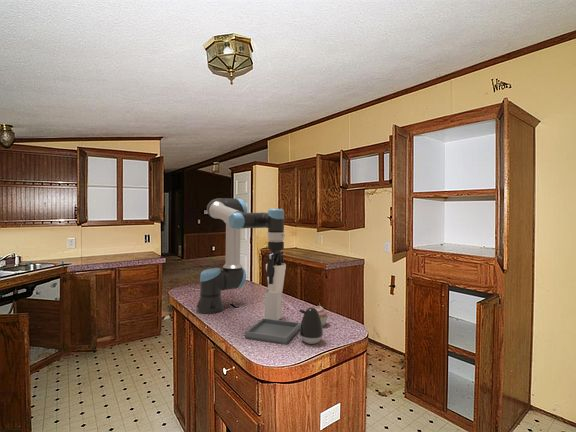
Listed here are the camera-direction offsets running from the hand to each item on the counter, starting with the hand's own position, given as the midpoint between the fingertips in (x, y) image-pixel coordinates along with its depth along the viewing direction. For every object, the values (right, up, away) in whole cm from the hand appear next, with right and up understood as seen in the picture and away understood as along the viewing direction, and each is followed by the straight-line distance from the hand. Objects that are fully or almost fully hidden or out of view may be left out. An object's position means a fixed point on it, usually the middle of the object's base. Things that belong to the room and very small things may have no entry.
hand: (275, 288), depth 156 cm
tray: (-1, -21, -1) cm, 21 cm away
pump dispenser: (+16, -21, -11) cm, 29 cm away
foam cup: (0, -2, 0) cm, 2 cm away
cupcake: (+22, -21, +11) cm, 32 cm away
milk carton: (-2, -21, +19) cm, 28 cm away
